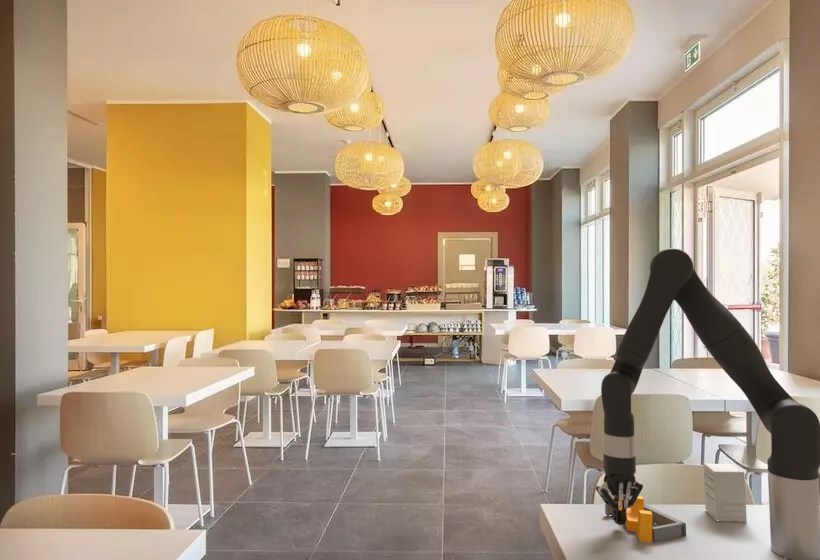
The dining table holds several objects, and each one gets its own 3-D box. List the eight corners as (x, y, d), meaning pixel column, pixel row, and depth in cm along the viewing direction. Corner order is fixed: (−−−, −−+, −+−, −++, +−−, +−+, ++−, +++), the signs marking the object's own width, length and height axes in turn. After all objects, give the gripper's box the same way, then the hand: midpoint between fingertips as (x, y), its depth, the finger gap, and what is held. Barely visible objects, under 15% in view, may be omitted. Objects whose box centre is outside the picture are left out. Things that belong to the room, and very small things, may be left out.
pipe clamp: (623, 520, 138) (623, 494, 138) (641, 522, 137) (642, 496, 137) (632, 540, 126) (632, 512, 127) (652, 542, 125) (652, 514, 126)
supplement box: (734, 511, 143) (732, 463, 144) (747, 522, 136) (745, 471, 137) (704, 510, 144) (702, 462, 145) (716, 521, 137) (714, 470, 138)
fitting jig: (634, 510, 145) (634, 499, 145) (686, 535, 129) (685, 523, 129) (605, 515, 141) (604, 504, 142) (654, 542, 125) (654, 529, 126)
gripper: (607, 458, 128) (608, 533, 127) (651, 454, 132) (652, 526, 131) (587, 450, 135) (587, 521, 134) (629, 446, 139) (630, 514, 139)
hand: (620, 523), depth 133 cm, fingers closed
